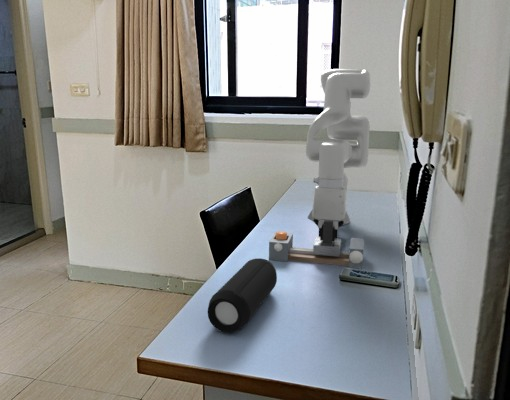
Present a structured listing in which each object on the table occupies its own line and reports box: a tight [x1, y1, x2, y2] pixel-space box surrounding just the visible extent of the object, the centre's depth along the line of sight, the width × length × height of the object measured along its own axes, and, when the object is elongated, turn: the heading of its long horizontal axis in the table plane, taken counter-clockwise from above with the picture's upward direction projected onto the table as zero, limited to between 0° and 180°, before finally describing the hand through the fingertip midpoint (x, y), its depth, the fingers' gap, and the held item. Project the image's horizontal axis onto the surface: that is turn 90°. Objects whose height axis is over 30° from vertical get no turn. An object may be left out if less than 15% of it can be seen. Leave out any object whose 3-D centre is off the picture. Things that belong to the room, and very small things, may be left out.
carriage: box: [312, 220, 342, 256], centre depth 146 cm, size 8×8×10 cm
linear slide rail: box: [268, 231, 365, 269], centre depth 148 cm, size 10×29×6 cm, turn 77°
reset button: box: [275, 230, 288, 240], centre depth 150 cm, size 4×4×4 cm
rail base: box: [288, 246, 350, 267], centre depth 149 cm, size 8×29×2 cm, turn 77°
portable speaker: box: [207, 258, 278, 334], centre depth 114 cm, size 26×10×10 cm, turn 160°
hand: (327, 239), depth 147 cm, fingers closed on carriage, 3 cm apart
